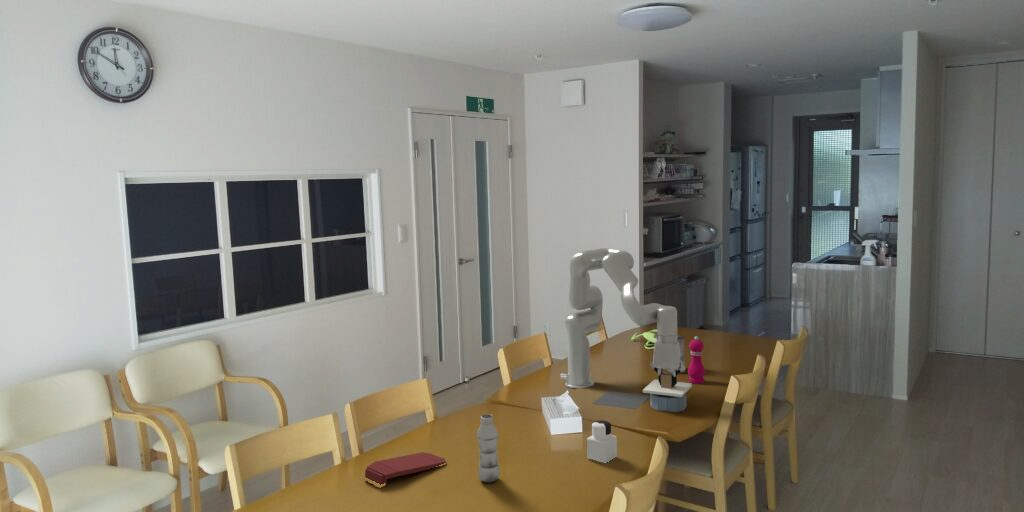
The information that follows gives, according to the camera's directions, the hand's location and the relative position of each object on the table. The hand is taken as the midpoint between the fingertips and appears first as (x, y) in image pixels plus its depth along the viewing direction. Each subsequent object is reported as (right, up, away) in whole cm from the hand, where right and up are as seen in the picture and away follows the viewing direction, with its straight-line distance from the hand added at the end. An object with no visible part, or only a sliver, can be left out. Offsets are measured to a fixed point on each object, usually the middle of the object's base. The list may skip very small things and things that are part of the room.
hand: (667, 384), depth 277 cm
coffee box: (+14, -3, +50) cm, 52 cm away
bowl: (0, -9, +1) cm, 9 cm away
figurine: (+15, +3, +103) cm, 104 cm away
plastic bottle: (-67, -18, -60) cm, 91 cm away
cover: (0, -2, 0) cm, 2 cm away
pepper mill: (+19, -5, +31) cm, 37 cm away
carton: (-93, -19, -51) cm, 108 cm away
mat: (-16, -8, +10) cm, 21 cm away
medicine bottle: (-31, -16, -46) cm, 58 cm away
